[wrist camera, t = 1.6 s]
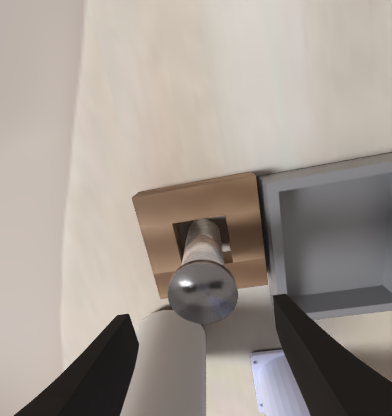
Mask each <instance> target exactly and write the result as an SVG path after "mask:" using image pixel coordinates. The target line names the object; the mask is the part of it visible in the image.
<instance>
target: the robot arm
mask: <svg viewBox="0 0 392 416" xmlns="http://www.w3.org/2000/svg"><path fill="white" fill-rule="evenodd" d="M273 304H274V313H275V322H276V330H277V333H278V336H279V340H280V343H281V346H282V350H272V351H263V352H254V353H252V354H251V355H250V359H251V365H252V371H253V378H254V384H255V390H256V397H257V403H258V409H259V412H260V413H265V416H392V382H391V381H389V380H387V379H386V378H385V377H383V376H382V375H380V374H379V373H377V372H376V371H375V370H373V369H372V368H370V367H369V366H368V365H366V364H365V363H364V362H362V361H361V360H359V359H358V358H357V357H355V356H354V355H353V354H352V353H350V352H349V351H348V350H347V349H345V348H344V347H343V346H342V345H340V344H339V343H338V342H337V341H336V340H334V339H333V338H332V337H331V336H330V335H329V334H327V333H326V332H325V331H324V330H323V329H322V328H321V327H320V326H318V325H317V324H316V323H315V322H314V321H313V320H312V319H311V318H310V317H309V316H308V315H307V314H306V313H305V312H304V311H303V310H302V309H301V308H300V307H299V306H298V305H297V304H296V303H295V302H294V301H293V300H292V299H291V298H290V297H289V296H288V295H287V294H278V295H273ZM138 350H139V342H138V339H137V336H136V333H135V330H134V328H133V325H132V322H131V319H130V316H129V314H123V315H117V316H116V317H115V318H114V319H113V320H112V321H111V322H110V324H109V325H108V326H107V327H106V328H105V329H104V330H103V331H102V332H101V333H100V334H99V336H98V337H97V338H96V339H95V340H94V341H93V342H92V343H91V344H90V345H89V346H88V347H87V349H86V350H85V351H84V352H83V353H82V354H81V355H80V356H79V357H78V358H77V359H76V360H75V361H74V362H73V363H72V364H71V365H70V366H69V367H68V368H67V369H66V370H65V371H64V372H63V373H62V374H61V375H60V376H59V377H58V378H57V379H56V380H55V381H54V382H52V383H51V384H50V385H49V386H48V387H47V388H46V389H45V390H44V391H42V392H41V393H40V394H39V395H38V396H37V397H36V398H35V399H33V400H32V401H31V402H30V403H29V404H27V405H26V406H25V407H24V408H22V409H21V410H20V411H19V412H18V413H16V414H15V415H14V416H120V414H121V411H122V408H123V404H124V401H125V398H126V395H127V392H128V389H129V385H130V382H131V379H132V376H133V372H134V369H135V365H136V360H137V355H138Z"/></svg>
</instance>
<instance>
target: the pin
mask: <svg viewBox="0 0 392 416" xmlns="http://www.w3.org/2000/svg"><path fill="white" fill-rule="evenodd" d="M237 299H238V291H237V286H236V282H235V279H234V277H233V275H232V273H231V272H230V271H229V270H228V269H227V268H226V267H225V265H224V258H223V252H222V245H221V239H220V232H219V228H218V226H217V225H216V224H215V223H214V222H213V221H211V220H208V219H199V220H196V221H194V222H193V223H192V224H191V225H190V227H189V229H188V233H187V239H186V244H185V249H184V255H183V260H182V266H180V267H179V268H178V269H177V270H176V271H175V272H174V274H173V275H172V277H171V280H170V284H169V288H168V300H169V303H170V305H171V307H172V308H173V310H174V311H175V312H176V313H177V314H178V315H179V316H180V317H182V318H183V319H185V320H187V321H190V322H194V323H199V324H208V323H214V322H217V321H219V320H222V319H223V318H225V317H226V316H228V315H229V314H230V313H231V312H232V311H233V309H234V308H235V306H236V303H237Z"/></svg>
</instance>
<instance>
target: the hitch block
mask: <svg viewBox="0 0 392 416" xmlns="http://www.w3.org/2000/svg"><path fill="white" fill-rule="evenodd" d="M132 201H133V204H134V208H135V211H136V215H137V218H138V222H139V225H140V229H141V232H142V236H143V239H144V243H145V246H146V250H147V253H148V257H149V260H150V264H151V267H152V271H153V274H154V278H155V281H156V285H157V288H158V292H159V295H160V299H165V298H168V288H169V284H170V280H171V277H172V275H173V274H174V272H175V271H176V270H177V269H178V268H179V267H180V266H182V260H183V255H184V251H183V247H182V243H181V239H180V234H179V230H178V226H177V223H179V222H185V221H191V220H197V219H203V218H209V217H215V216H221V215H225V218H226V225H227V231H228V237H229V243H230V249H231V251H230V252H223V258H224V265H225V267H226V268H227V269H228V270H229V271H230V272H231V273H232V275H233V277H234V279H235V282H236V286H237V289H239V288H247V287H254V286H262V285H268V279H267V270H266V261H265V252H264V243H263V234H262V225H261V216H260V208H259V199H258V190H257V181H256V175H255V174H253V173H252V172H246V173H241V174H235V175H230V176H224V177H219V178H214V179H208V180H203V181H197V182H192V183H186V184H181V185H175V186H170V187H164V188H159V189H153V190H148V191H142V192H138V193H137V194H136V195H135V196H133V197H132Z"/></svg>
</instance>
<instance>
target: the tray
mask: <svg viewBox="0 0 392 416" xmlns="http://www.w3.org/2000/svg"><path fill="white" fill-rule="evenodd" d="M257 178H258V187H259V196H260V205H261V214H262V223H263V232H264V241H265V251H266V260H267V269H268V278H269V287H270V296H271V302H272V304H273V295H278V294H287V295H288V296H289V297H290V298H291V299H292V300H293V301H294V302H295V303H296V304H297V305H298V306H299V307H300V308H301V309H302V310H303V311H304V312H305V313H306V314H307V315H308V316H309V317H310V318H311V319H312V320H315V319H324V318H332V317H341V316H350V315H358V314H367V313H375V312H384V311H392V152H390V153H385V154H379V155H373V156H368V157H362V158H357V159H351V160H346V161H340V162H335V163H329V164H323V165H318V166H312V167H307V168H301V169H296V170H290V171H284V172H279V173H273V174H268V175H262V176H257ZM273 306H274V304H273Z"/></svg>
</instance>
